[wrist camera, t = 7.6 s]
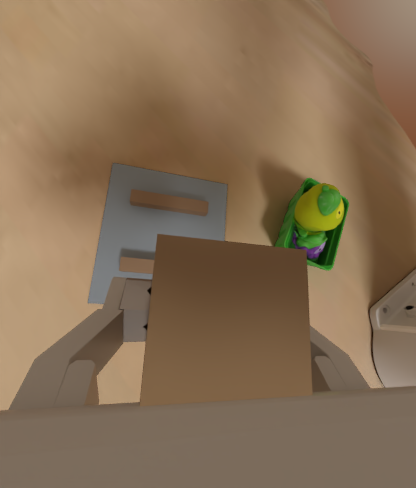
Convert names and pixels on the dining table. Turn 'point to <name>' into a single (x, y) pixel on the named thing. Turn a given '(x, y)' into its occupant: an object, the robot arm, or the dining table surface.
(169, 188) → the mat
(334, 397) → the robot arm
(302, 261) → the card block
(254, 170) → the dining table surface
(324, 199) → the fruit basket
